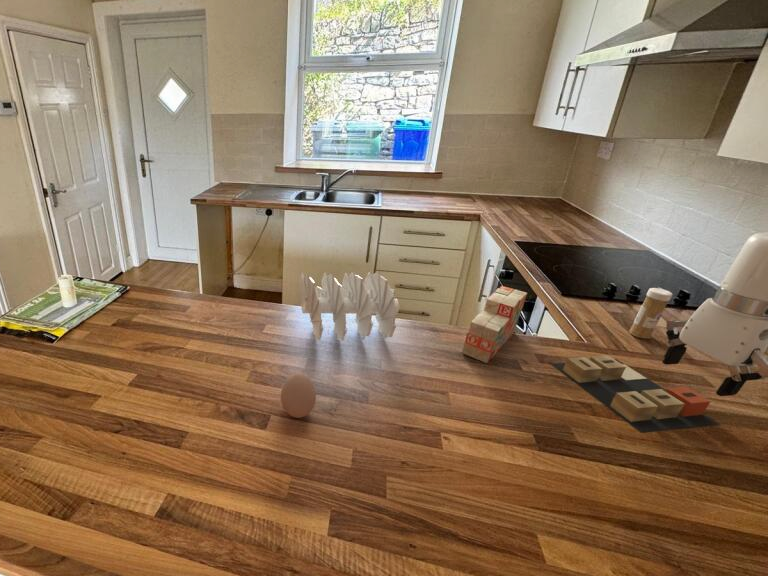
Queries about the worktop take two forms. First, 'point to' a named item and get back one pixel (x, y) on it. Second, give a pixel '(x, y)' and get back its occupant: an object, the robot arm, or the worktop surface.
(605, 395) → the letter mat
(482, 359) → the stack of blocks
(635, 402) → the word tiles
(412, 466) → the worktop surface
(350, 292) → the white pleated sculpture
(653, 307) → the sprinkles bottle
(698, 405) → the orange toy block
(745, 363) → the robot arm
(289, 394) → the egg
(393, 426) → the worktop surface
